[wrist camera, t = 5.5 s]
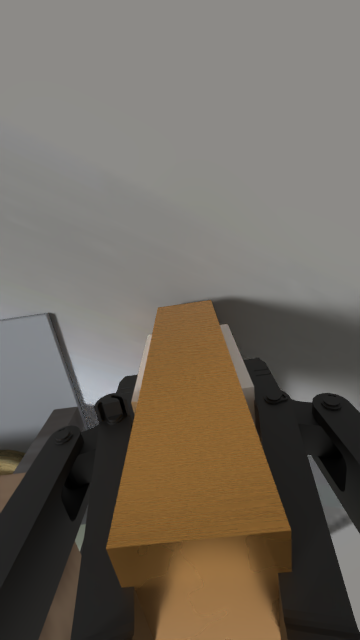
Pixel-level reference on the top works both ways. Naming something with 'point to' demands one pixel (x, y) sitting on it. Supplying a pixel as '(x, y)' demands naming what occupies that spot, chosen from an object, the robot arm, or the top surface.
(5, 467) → the token
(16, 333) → the mat
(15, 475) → the cabinet
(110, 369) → the top surface
